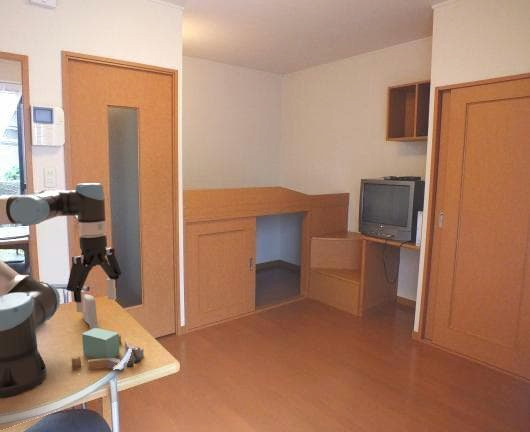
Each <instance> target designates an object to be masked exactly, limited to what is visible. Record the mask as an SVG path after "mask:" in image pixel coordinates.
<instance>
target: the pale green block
mask: <svg viewBox="0 0 530 432" xmlns="http://www.w3.org/2000/svg"><path fill="white" fill-rule="evenodd" d="M119 335H120V334H119V332H116V331H115V332H113V331H111V330H106V329H102V328H99V327H98V328H93V329H91V330H87V331H84V332H83V333H81V337H82V351H83V352H82V353H83V356H87V357H90V358H93V359H101V358H111V357H112V358H116V357H117V356H119V355H120V354H121V352H120V344H119Z"/></svg>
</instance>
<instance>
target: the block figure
mask: <svg viewBox="0 0 530 432" xmlns="http://www.w3.org/2000/svg"><path fill="white" fill-rule="evenodd" d="M120 344H122V335H121V334H119V345H120ZM136 347H137V346H134V345H131V343H130V341H129V339H128V338H126V339H124V348H125V350H126V351H127V350H128V349H129V348H131V349H132V352H133V349H134V348H136ZM139 348H140V354H141V358H143V357H144V356H145V355H144V348H142V347H139ZM133 357H134V355H133ZM120 360H121V359H119V358H116V357H114V358H112V357H111V358H101V359H96V358H93V359H88V361H87V365H88V367H87V368H88V370H93V369H94V370H95V369H104V368H108V369H112V368H113V367H114V366H115V365H117V364H118V363H119V362H120ZM81 366H82V359H81V356H80V355H76V356H72V357H71V368H73V369H76V368H77V369H78V368H79V367H81Z"/></svg>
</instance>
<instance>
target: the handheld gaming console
mask: <svg viewBox="0 0 530 432" xmlns="http://www.w3.org/2000/svg"><path fill="white" fill-rule="evenodd" d="M84 295H85V310H86V312H85V313H81V315H82V318H83V320H84V322H86V323H87V324H88V325H89V329H90V330H91V329H93V328H98V329H99V326H98V316H97V304H96V299H95V297H94V296H93V295H90V294H86V293H84Z"/></svg>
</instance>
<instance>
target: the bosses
mask: <svg viewBox="0 0 530 432" xmlns="http://www.w3.org/2000/svg"><path fill="white" fill-rule="evenodd" d="M135 347H136V348H134V349H133V352H131V356H130V359H129V361H128V363H127V365H125V366H126V368H127V369H130V368H133V367H134V365H135V364H139V363H141V361H142V360H141V358H142V357H141V354H140V348H141V347H140V346H135ZM133 355H134V356H133Z"/></svg>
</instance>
